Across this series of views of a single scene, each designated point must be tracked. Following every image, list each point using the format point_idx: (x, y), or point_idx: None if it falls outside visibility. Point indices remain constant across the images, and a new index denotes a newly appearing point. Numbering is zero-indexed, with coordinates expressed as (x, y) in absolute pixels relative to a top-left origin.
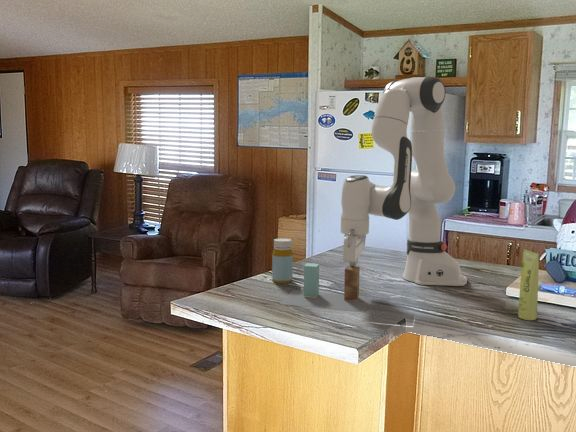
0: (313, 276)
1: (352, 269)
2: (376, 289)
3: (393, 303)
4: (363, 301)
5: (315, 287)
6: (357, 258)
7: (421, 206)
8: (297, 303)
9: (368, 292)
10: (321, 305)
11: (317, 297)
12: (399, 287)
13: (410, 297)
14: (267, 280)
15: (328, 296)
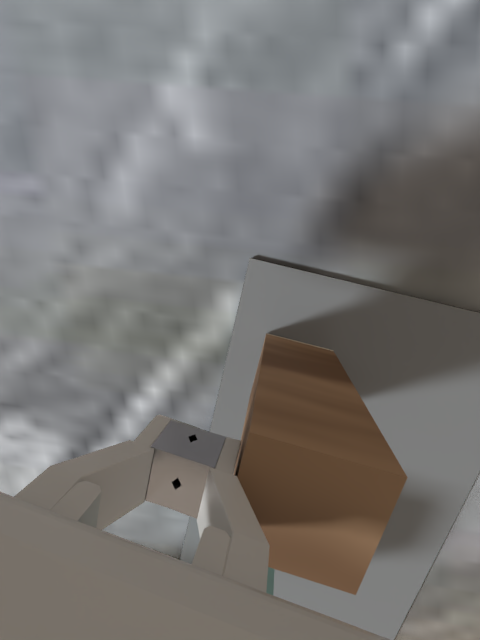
0: None
1: (376, 526)
2: (77, 218)
3: (342, 139)
4: (334, 316)
5: (273, 577)
6: (97, 495)
7: None
8: (371, 606)
9: (138, 267)
10: (406, 521)
11: None
12: (12, 75)
13: (207, 11)
14: None
15: None
